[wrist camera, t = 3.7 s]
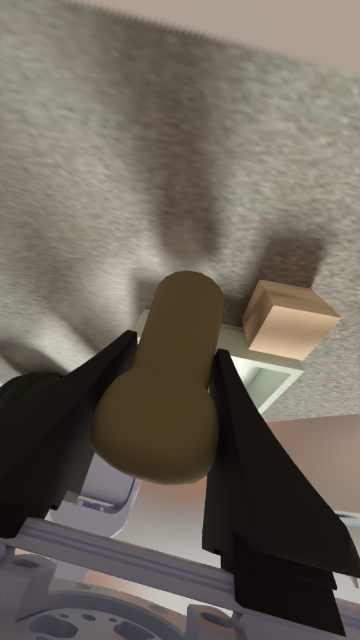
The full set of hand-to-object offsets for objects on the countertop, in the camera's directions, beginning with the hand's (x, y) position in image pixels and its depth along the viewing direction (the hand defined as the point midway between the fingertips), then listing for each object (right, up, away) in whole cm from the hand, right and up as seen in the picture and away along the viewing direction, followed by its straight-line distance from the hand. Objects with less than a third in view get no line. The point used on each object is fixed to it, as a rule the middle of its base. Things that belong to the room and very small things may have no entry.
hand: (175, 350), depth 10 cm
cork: (+1, +3, +4) cm, 5 cm away
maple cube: (+10, +4, +7) cm, 13 cm away
